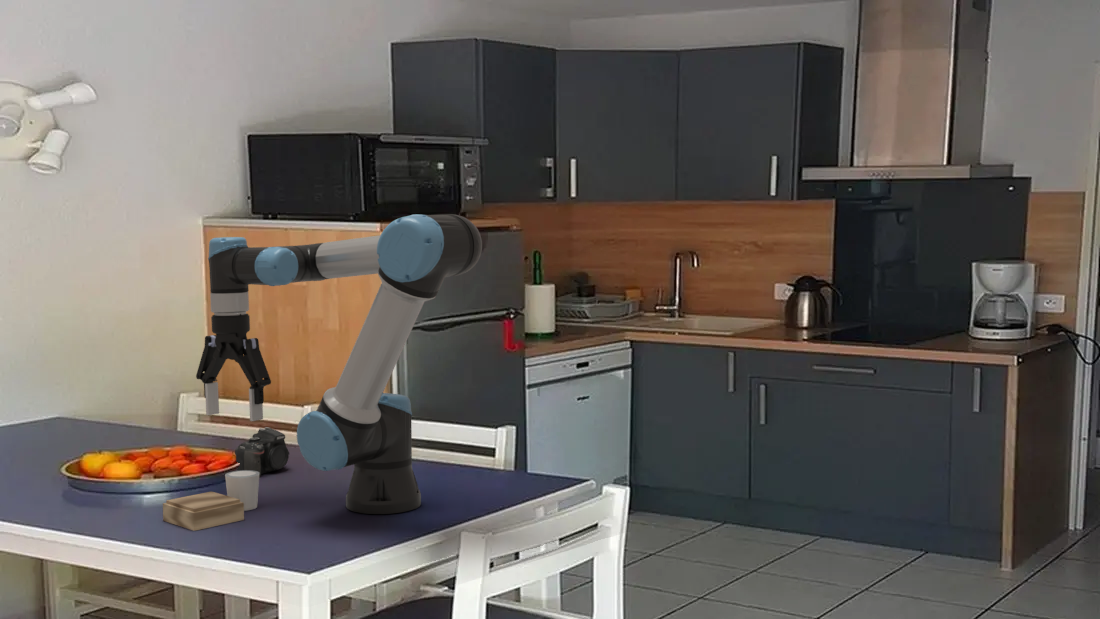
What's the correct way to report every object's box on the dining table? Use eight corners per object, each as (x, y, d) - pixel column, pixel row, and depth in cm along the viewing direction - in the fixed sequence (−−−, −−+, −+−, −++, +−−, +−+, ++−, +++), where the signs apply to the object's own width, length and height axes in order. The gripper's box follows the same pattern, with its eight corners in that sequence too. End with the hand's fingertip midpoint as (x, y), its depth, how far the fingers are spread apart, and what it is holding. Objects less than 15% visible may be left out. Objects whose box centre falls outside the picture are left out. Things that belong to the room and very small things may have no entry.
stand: (244, 519, 247) (243, 499, 247) (194, 530, 239) (193, 510, 239) (212, 510, 254) (212, 490, 254) (163, 520, 246) (162, 500, 246)
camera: (273, 479, 282) (272, 435, 281) (231, 477, 284) (230, 433, 283) (297, 466, 295) (296, 424, 294) (257, 465, 297) (256, 422, 296)
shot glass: (218, 509, 255) (217, 475, 254) (239, 502, 261) (238, 468, 261) (247, 512, 252) (246, 478, 252) (267, 505, 259) (266, 471, 258)
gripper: (286, 314, 253) (290, 419, 254) (205, 309, 267) (209, 409, 269) (257, 317, 247) (260, 425, 248) (176, 312, 261) (180, 414, 263)
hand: (234, 417), depth 259 cm, fingers open, 13 cm apart
